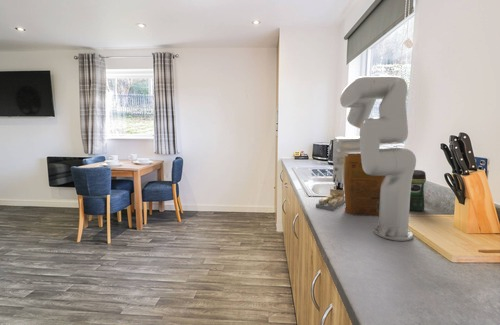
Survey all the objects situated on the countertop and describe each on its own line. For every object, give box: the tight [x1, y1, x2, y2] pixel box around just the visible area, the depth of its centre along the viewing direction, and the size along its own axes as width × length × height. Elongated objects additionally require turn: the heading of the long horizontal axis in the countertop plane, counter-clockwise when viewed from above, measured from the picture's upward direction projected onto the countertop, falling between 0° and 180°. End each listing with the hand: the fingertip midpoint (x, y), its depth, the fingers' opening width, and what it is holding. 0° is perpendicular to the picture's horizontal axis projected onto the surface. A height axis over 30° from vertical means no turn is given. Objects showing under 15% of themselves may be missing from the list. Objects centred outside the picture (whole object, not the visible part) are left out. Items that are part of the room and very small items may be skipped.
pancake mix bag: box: [343, 152, 386, 217], centre depth 117 cm, size 7×19×28 cm, turn 77°
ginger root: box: [318, 188, 345, 206], centre depth 133 cm, size 14×7×5 cm, turn 140°
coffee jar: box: [409, 169, 427, 212], centre depth 123 cm, size 10×8×19 cm
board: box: [315, 193, 345, 211], centre depth 135 cm, size 20×9×5 cm, turn 140°
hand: (339, 194), depth 141 cm, fingers closed
